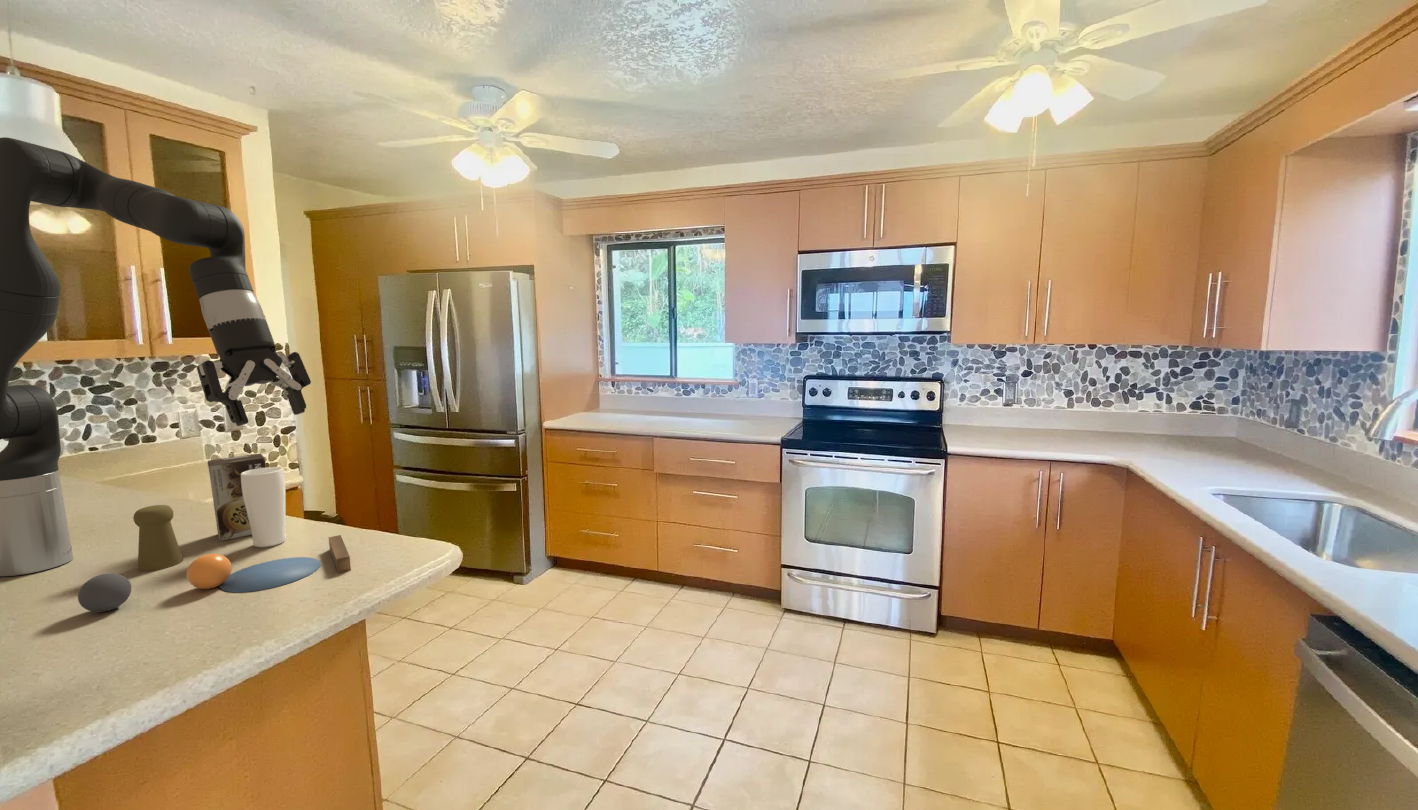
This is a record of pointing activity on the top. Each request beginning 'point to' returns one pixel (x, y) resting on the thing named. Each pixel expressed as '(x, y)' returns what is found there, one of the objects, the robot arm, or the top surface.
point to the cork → (156, 538)
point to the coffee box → (231, 493)
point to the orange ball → (209, 571)
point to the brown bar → (339, 554)
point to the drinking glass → (265, 505)
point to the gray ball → (104, 592)
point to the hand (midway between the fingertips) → (272, 418)
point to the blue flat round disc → (270, 574)
